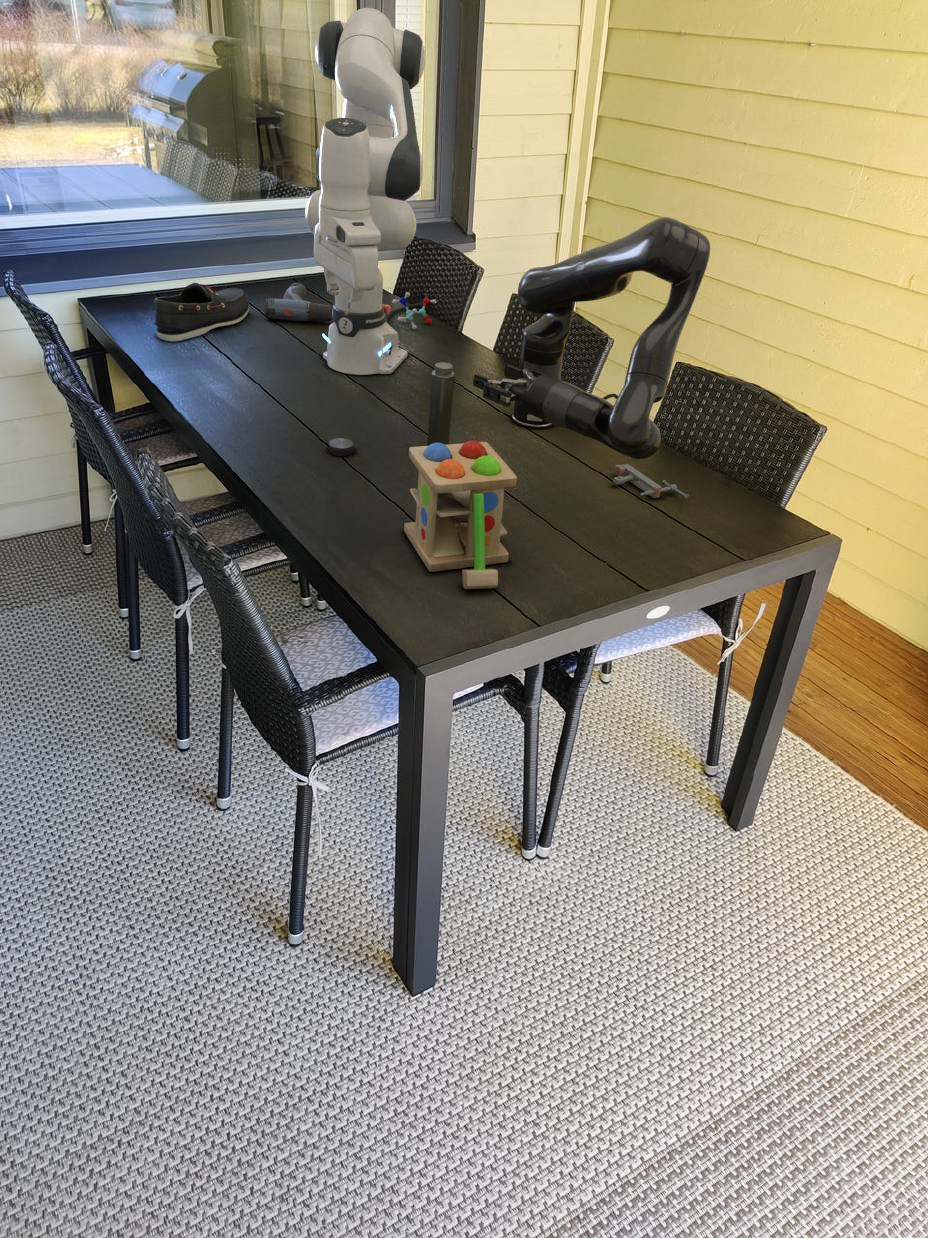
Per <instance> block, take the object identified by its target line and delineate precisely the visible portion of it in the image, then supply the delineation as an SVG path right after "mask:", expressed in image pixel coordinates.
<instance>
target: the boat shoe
mask: <svg viewBox="0 0 928 1238" xmlns="http://www.w3.org/2000/svg"><path fill="white" fill-rule="evenodd" d="M154 305H155V315H154V317H155V321H154V322H153V323H154V325H155V326H156V337H157V338H158V339H160V340H162V341H166V342H180V341H181V342H182V341H186V340H189V339H192V338H196V337H199V336H201V335H204V334H206V333H208V332H209V331H210V330H212V329H215V328H219V327H224V326H226V327H227V326H230V325H234V324H238V323H239V322H241V321H243V320H244V319H245V318H246V317H247V315H248V314H249V311H250V304H249V300H248V297H247V295H246V293H245V291H244V290H243V289H241V288H238V287H230V288H224V289H220V290H217V291H215V290H214V289H213V288H212V287H211V286H209V285H207V284H203V283H198V282H191V283H190V284H188V285H186V286H185V287H184V288H183V289H182V290H181V291H180V292H179V294H177V295H171V296H159V297H155V298H154Z"/></svg>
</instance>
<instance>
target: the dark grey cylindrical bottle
mask: <svg viewBox="0 0 928 1238" xmlns="http://www.w3.org/2000/svg"><path fill="white" fill-rule="evenodd" d="M453 370H454V367H453V364H451V363H449V362H443V361H442V362H436V363H435V364H434V369H433V370H432V372H431V382H430V394H429V395H430V398H429V413H428V427H427V429H428V430H427V438H426V439H427V441H426V446H429V445H431V444H433V443H442V444H444V445H450V433H451V422H452V409H453V397H454V396H453V395H454V385H455V372H454V371H453Z"/></svg>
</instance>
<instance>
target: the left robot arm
mask: <svg viewBox="0 0 928 1238" xmlns="http://www.w3.org/2000/svg"><path fill="white" fill-rule="evenodd" d="M423 42H424V41H423V39H422V38H421V36H420V35H419V34H417V32H416V33H415V32H413V31H411V30H408V29H404V30H402V29H399V28H395V27H393V26H392V23H391V21H390V20H389V18H388V17H387V15H386V14H385V13H383V12H381V11H380V10H378V9H376V8H372V7H362V8H360V9H357V10H356V11H353V12H352V13H351V15H350V16H349V17H348V19H347V21H346V22H342V21H341V20H332V21H327V22H325V23H324V24H323V25H322V26H321V27H320V30H319V32H318V34H317V36H316V39H315V46H314V54H315V61H316V64H317V66H318V67H317V68H318V70H319V72H320V73H321V75H322V76H323V77H324V78H327V79H329V80H332V81H334V82H335V83H336V86H337V89H338V90H339V92H340V94H341V95H342V97H343V98H344V99H343V107H342V117H337V118H332V119H329V120H327V121H325V123H324V124H323V127H322V132H321V139H320V144H319V145H318V146H317V148H316V153H315V177H316V179H317V181H318V183H320V187H321V189H318V190H315V191H314V192H313V193H312V194H311V195H310V197H309V198H308V200H307V201H306V204H305V209H304V218H305V222H306V225H307V228H308V229H309V231H310V232H311V234H312V235H314V237H313V238H314V239H313V257H314V262H315V263H316V264H317V265H319V267H321V268H323V274H324V278H325V283H326V293H327V294H328V295H330V296H334V303H333V305H332V307H333V311H332V314H333V320H332V323H331V324H330V325H329V326H328V336H326V335H325V333H322V334H321V335H322V337H323V339H324V340H325V341H326V342H327V346H326V347H327V348H326V351H324V352H323V353H322V358H323V359H324V360H326V362H327V363H326V365H327V366H328V367H329V368H330V369H332V370H334V371H336V372H339V373H341V374H342V373H343V374H347V375H356V376H369V375H379V374H380V375H389V374H392V373H393V372H394V371H395V370H396V369H397V368H398V367H399V366H400V365H401V364H402V363H403V361H405V360H406V359H407V357H408V356H409V354H408V353H409V351H407V350H405V349H403V348H401V347H399V345H400V344H399V343H400V342H399V341H400V340H399V339H400V337H399V333H398V331H397V330H396V329H394V328H393V327H392V325H391V324H390V322H389V319H390V318H391V317H392V316H393V315H394V314H397V313H400V312H403V311H407V310H406V308H405V306H404V305H403V306H401V307H398V308H394V309H393V310H391V308H392V306H391V305H390V304H385V303H383V292H384V290H383V288H384V277H383V274H382V271H381V270H380V268H379V250H380V251H381V250H382V251H396V250H397V251H398V250H404V249H406V248H407V247H408V246H409V245H410V244H412V242H413V240H414V238H415V235H416V232H417V219H416V214H415V212H414V210H413V208H412V206H411V205H410V204H409V203H408V202H407V200H409V199H410V198H412V197H413V196H415V195H416V194H417V193H418V192H419V191H420V189H421V185H422V183H423V178H424V162H423V156H422V153H421V149H420V146H419V140H418V133H417V125H416V118H415V110H414V103H413V99H412V98H413V97H412V92H411V90H413V89H414V88H415V87H416V86H417V85H419V83H420V80H421V78H422V77H423V74H424V71H425V68H426V61H427V59H426V51H425V47H424V45H423ZM427 294H428V292H427V293H424V294H423V293H422V296H423V298H428V299H429V294H428V295H427ZM429 300H430V299H429ZM423 305H424V302H423V301H421V302H418V303H412V304H408V305H407V307H408V309H409V310H411V309H416V308H420V307H423Z"/></svg>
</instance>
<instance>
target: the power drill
mask: <svg viewBox="0 0 928 1238" xmlns="http://www.w3.org/2000/svg"><path fill="white" fill-rule="evenodd" d="M307 295H308V290H307V287H306V285H304V284H303V283H301V282H293V283H292V284H291V285H290V286H289V287H288V288H287V289H286V291H285V292H284V294H283V297H282V298H266V299H265V302H264V313H265V314H264V316H265V318H267V319H274V320H275V319H276V320H283V321H294V322H295V321H297V322H332V321H333V314H332V311H333V305H331V304H324V303H317V302H313V301H307V300H305V299H306V297H307Z"/></svg>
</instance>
